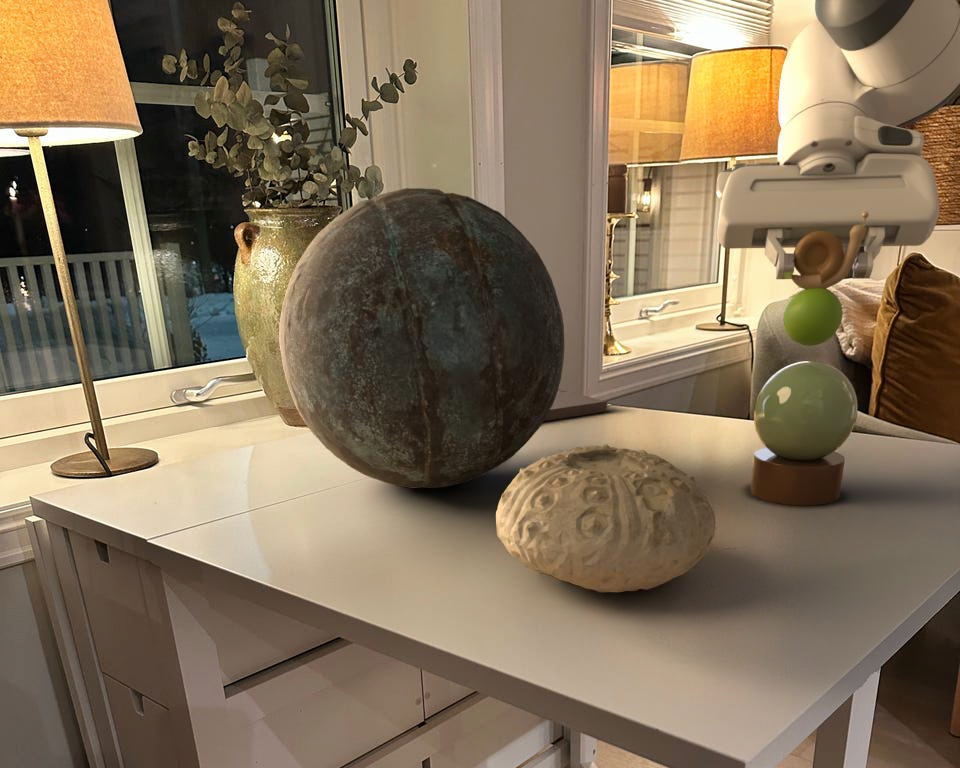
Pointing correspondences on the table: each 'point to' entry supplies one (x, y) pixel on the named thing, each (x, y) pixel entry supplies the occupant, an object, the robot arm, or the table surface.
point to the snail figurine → (820, 285)
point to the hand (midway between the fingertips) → (824, 274)
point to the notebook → (574, 405)
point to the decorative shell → (606, 519)
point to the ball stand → (802, 434)
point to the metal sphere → (422, 338)
